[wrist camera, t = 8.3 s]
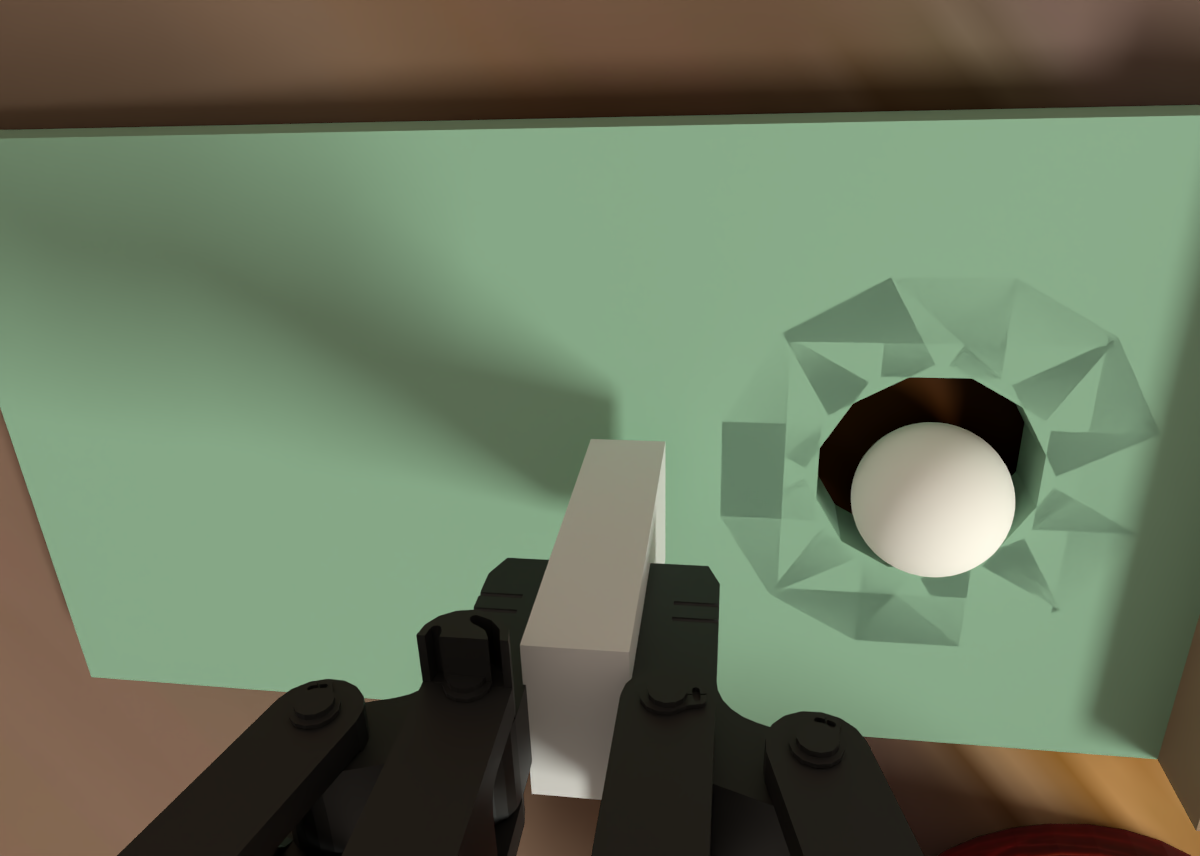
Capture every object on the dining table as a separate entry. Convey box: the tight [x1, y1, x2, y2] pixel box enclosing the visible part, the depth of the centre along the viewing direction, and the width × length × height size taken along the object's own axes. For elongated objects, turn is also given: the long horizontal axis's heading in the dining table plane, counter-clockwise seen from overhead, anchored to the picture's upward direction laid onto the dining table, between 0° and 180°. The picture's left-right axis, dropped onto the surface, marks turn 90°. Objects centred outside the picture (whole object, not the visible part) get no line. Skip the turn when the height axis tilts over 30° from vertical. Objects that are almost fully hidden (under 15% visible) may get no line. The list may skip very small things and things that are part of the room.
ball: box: [851, 422, 1015, 577], centre depth 19 cm, size 3×3×3 cm
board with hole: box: [0, 105, 1200, 831], centre depth 20 cm, size 28×14×4 cm, turn 92°
